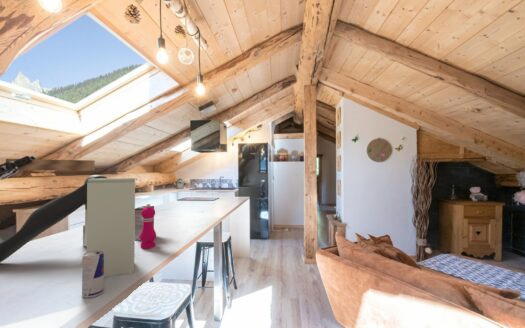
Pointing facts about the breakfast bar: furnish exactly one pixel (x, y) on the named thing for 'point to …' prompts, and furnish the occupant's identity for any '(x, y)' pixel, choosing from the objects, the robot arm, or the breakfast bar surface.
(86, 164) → the bar
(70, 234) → the breakfast bar surface
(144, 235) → the pepper mill
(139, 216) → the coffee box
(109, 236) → the post
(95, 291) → the energy drink
